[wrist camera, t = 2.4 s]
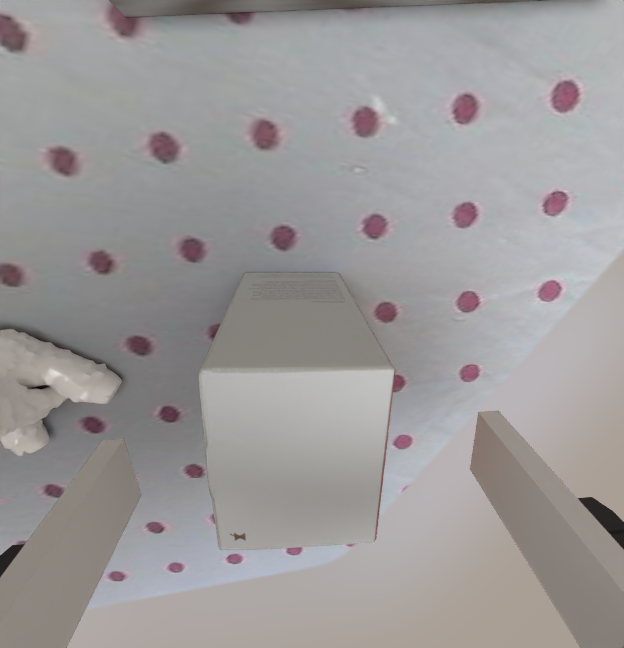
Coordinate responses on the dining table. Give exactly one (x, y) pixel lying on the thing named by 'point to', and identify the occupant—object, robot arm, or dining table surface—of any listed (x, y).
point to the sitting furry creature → (34, 404)
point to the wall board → (260, 5)
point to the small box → (295, 415)
